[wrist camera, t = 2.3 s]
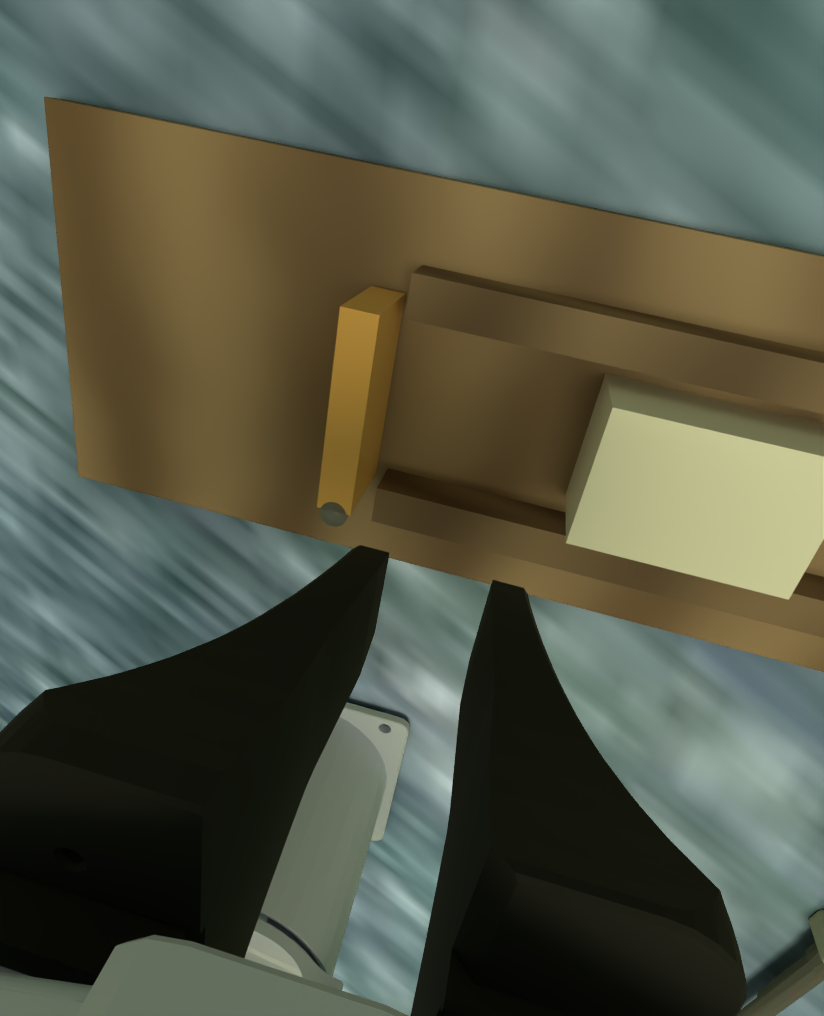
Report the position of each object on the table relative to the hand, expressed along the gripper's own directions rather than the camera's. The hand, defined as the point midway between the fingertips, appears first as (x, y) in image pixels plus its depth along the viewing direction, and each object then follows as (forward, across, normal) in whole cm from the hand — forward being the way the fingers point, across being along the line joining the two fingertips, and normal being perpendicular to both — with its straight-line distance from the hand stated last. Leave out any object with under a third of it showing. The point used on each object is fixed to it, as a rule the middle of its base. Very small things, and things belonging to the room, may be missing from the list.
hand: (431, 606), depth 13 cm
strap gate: (+8, +4, -1) cm, 9 cm away
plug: (+9, -6, -1) cm, 11 cm away
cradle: (+9, -1, -1) cm, 10 cm away
